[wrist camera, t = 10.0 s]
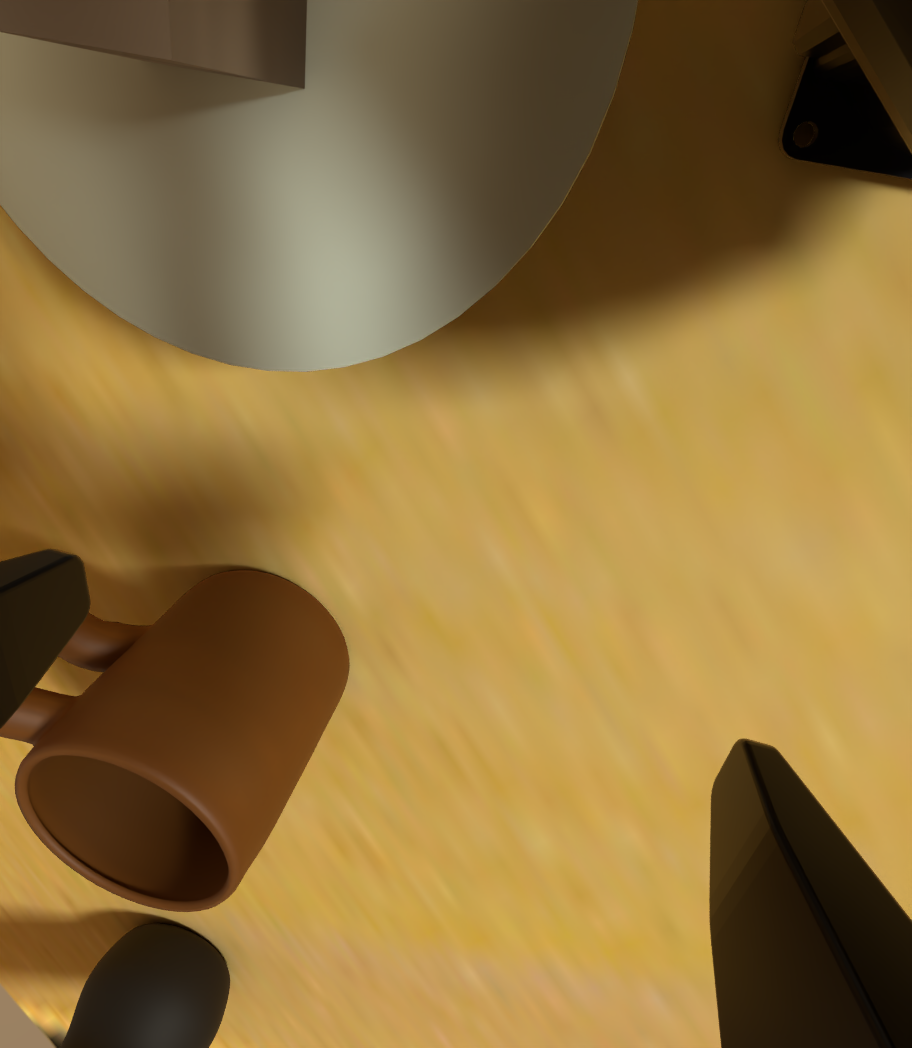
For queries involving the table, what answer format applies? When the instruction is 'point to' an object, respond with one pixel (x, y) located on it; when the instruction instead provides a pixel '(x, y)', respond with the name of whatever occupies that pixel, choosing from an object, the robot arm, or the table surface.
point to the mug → (181, 738)
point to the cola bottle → (152, 993)
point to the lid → (297, 158)
